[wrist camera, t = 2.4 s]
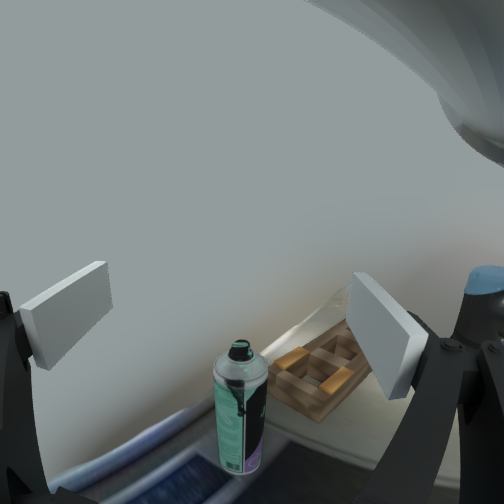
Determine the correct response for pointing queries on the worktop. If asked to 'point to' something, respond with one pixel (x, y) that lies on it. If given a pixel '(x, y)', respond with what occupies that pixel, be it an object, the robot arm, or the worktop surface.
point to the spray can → (240, 407)
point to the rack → (319, 372)
